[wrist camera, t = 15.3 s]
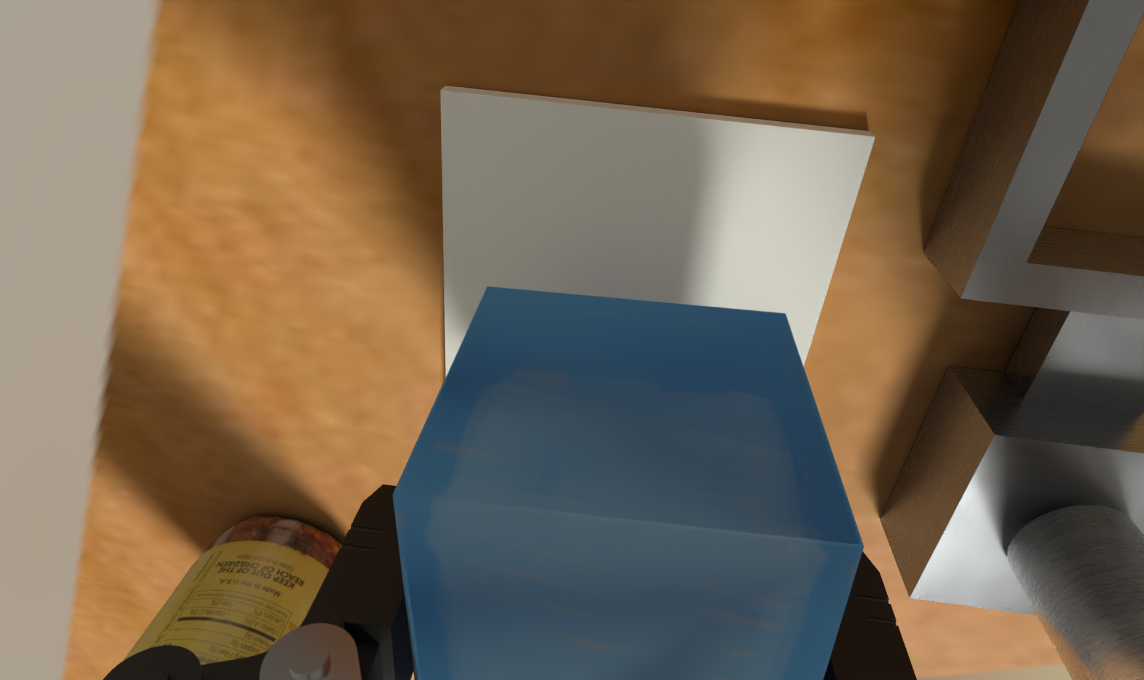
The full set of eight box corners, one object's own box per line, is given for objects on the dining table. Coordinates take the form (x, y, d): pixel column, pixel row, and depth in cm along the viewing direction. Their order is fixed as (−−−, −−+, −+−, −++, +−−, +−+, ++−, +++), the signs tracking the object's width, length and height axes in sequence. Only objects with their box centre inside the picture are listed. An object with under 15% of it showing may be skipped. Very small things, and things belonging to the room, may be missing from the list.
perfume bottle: (785, 313, 14) (1128, 1330, 4) (734, 527, 17) (847, 1389, 7) (487, 286, 15) (95, 1152, 4) (491, 501, 18) (272, 1286, 8)
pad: (446, 85, 16) (440, 90, 16) (869, 131, 16) (875, 136, 16) (451, 463, 23) (447, 474, 22) (755, 503, 22) (757, 515, 22)
